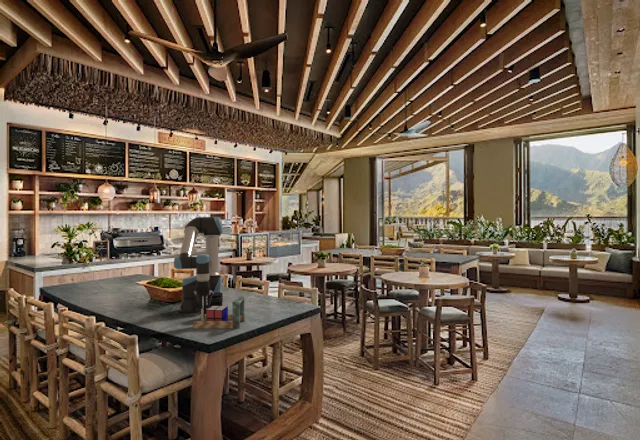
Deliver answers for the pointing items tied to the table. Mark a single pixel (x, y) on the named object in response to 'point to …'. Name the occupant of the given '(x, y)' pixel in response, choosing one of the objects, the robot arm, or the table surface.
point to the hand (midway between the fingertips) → (203, 319)
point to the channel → (232, 319)
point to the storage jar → (216, 299)
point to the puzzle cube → (217, 313)
